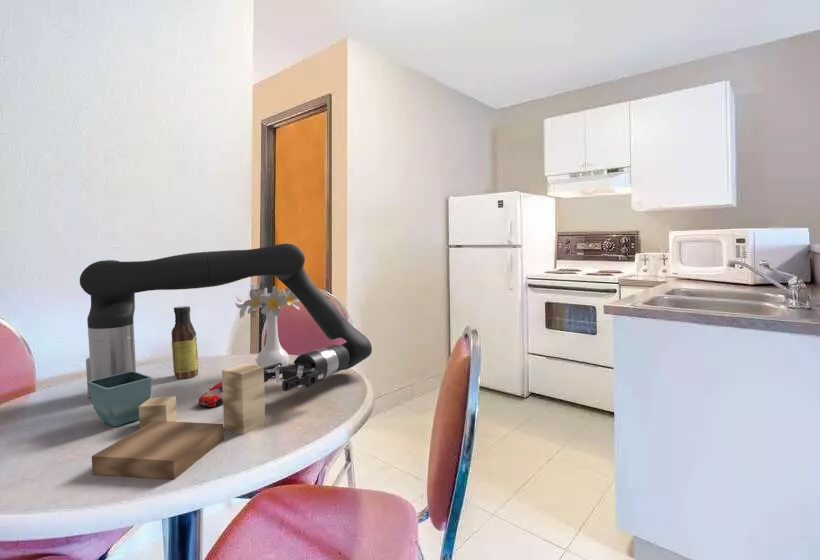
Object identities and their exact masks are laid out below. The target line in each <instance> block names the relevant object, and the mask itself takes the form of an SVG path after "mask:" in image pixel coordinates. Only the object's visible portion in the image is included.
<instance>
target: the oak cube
mask: <svg viewBox="0 0 820 560" xmlns="http://www.w3.org/2000/svg"><path fill="white" fill-rule="evenodd" d="M177 409H178V407H177V396H162V397H161V396H160V397H151V398H150V399H148V400H147V401H146V402H144V403H143V404H141V405H140V406H139V419H138V421H139V429H141V428H143V427H144V426H146V425H148V424H150V423H151V422H153V421H170V422H177V420H178V413H177V412H178V410H177Z"/></svg>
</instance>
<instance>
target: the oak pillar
mask: <svg viewBox="0 0 820 560" xmlns="http://www.w3.org/2000/svg"><path fill="white" fill-rule="evenodd" d="M221 377H222V378H221V379H222V381H221V382H222V386H223V403H222V410H223V411H222V412H223V413H222V414H223V415H222V416H223V428H224V431H225V430H226V431H229V432H232V433H237V434H241V435H246V434H247V433H248V434H249V433H250V432H252V431H255V429H256V430H257V429H258V428H260V427H263V426H264V425H266V406H265V405H266V404H265V402H266V401H265V383H264V367H263V366H258V365H257V364H256V365H255V364H251V363H250V364H249V363H241V364H238V365H235V366H232V367H228V368H224V369H222V370H221Z"/></svg>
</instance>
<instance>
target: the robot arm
mask: <svg viewBox="0 0 820 560" xmlns="http://www.w3.org/2000/svg"><path fill="white" fill-rule="evenodd" d="M305 262H306V257H305V254H304V252H303V250H302V249H301V248H300V247H299V246H297V245H295V244H291V243H279V244H273V245H269V246H264V247H258V248H253V249H252V248H250V249H231V250H230V249H229V250H216V251H215V250H214V251H202V252H201V251H199V252H189V253H183V254H177V255H172V256H171V255H170V256H167V257H161V258H157V259H150V260H141V261H140V260H139V261H138V260H137V261H119V260H116V259H113V260H112V259H111V260H110V259H106V260H99V261H94V262H92V263H91V264H89V265H88V266H86V267H85V268H84V269H83V270H82V271H81V273H80V276H79V286H80V288H81V289H82V290H83V291H84V293H86V294H87V295H88V296H90V309H89V313H88V314H87V335H88V336H87V337H88V350H89V351H88V352H89V353H88V354H89V356H88V357H87V358H86V359H85V369H86V371H85V372H86V384H87V386H86V387H87V397H88V398H91V397H90V392H89V388H88V383H87V382H88V381H92V380H96V379H101V378H105V377H109V376H113V375H117V374H121V373H126V372H130V371H134V372H137V367H136V366H137V365H136V362H137V361H136V345H135V344H136V343H135V327H134V326H135V325H134V321H135V320H134V315H135V310H136V303H135V302H136V301H135V300H136V298H135V297H136V296H135V295H136V294H138V293H142V292H149V291H168V290H169V291H172V290H174V291H175V290H176V291H177V290H178V291H179V290H192V289H193V290H194V289H195V290H196V289H204V288H211V287H219V286H223V285H229V284H232V283H235V282H238V281H241V280H244V279H247V278H252V277H259V276H261V277H262V276H274V277H276V278H277V280H279V281H280V282H281V283H282V284H283V285H284V286H285V287H286V288H289V289H290V290H291V292H292V293H293V296H296V297H297V298H298V299H299V300H300V301H299V302H300V303H301V304H302V305H303V307H304V308H305V309H306V311H307V312H308V313H309V315H310V316H311V318H312V319H313V321H314V322H315V323H316V324H317V326H318V328H320V330H321V331H322V332H323V334H324V335H325V336H326V338H328V339H329V340H330V341H334V340H336V339H342V340H344V341H345V342H344V343H341V344H333V345H329V346H327V347H322V348H318V349H314V350H311V351H308V352H305V353H301V354H299V355H298V356H297V357H296V358H295V360H294V361H293V363H287V365H283V366H282V363H278V364H274V365H271V366H267V367H264V384H265V383H267V382H272V381H275V382H277V383H278V382H279V383H281V382H282V383H281V390H282V391H283V392H287V391H291V390H292V389H294V388H301V387H303V386H304V388H308V389H309V388H311V387H313V386H315V385H317V384H319V383H321V382H323V381H324V379H327V378H329V377H330V376H332V375H334V374H336V373H338V372H340V371H345V370H349V369H351V368H353V367H355V366H356V365H358V364H360V363H361V362H363V361H364V360H366V359H367V358H368V357H370V356H371V355H372V352H373V351H372V350H373V347H372V344H371V342H370V340H369V338H367V336H366V335H364V334H363V333H362V332H361V331H359V330H358V329H357V328H355V327H354V326H353V325H352V324H350V323H349V322H348V321H347V320H346V318H345V317H344V315H342V313H341V312H340V310H339V309H338V308H337V306H336V304H334V303H333V302H332V301H331V299H329V298H328V297H327V296H326V295H325V294H324V293H323V292H322V291H321V290H320V289H319V288H318V287H317V286H316V285H315V284H314V283H313V281H312V279H311V278H310V277H309V275H308V273H307V271H306V270H305V268H304V265H305ZM280 375H281V377H280Z"/></svg>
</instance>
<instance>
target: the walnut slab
mask: <svg viewBox="0 0 820 560" xmlns="http://www.w3.org/2000/svg"><path fill="white" fill-rule="evenodd" d="M224 431H225V429H224V423H211V422H210V423H209V422H191V421H189V422H188V421H175V422H170V421H153V422H151V423H150V424H148V425H146V426H144V427H143V428H141V429H140V428H139V429H137V430H136V431H134V432H132V433H130V434H128V435H126V436H125V437H123V438H121V439H119V440H118V441H116V442H114V443H112V444H110V445H109V446H107V447H105V448H103V449H101V450H100V451H97V452H96V453H93V455H91V466H92V475H98V476H99V475H101V476H116V477H129V478H133V477H134V478H147V479H161V480H162V479H163V480H165V479H166V480H175V479H177V478H178V477H180V476H181V475H182V474H183V473H184V472H186V470H188V469H189V468H191V467H192V466H193V465H194V464H196V462H198V461H199V460H200V459H202V458H203V457H204V456H205V455H207V454H208V453H209V452H211V451H212V450H213V449H214V448H215V447H216V446H218V445H219V444H220V443H222V442H223V441H224V440H225V437H224V436H225V434H224Z"/></svg>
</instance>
